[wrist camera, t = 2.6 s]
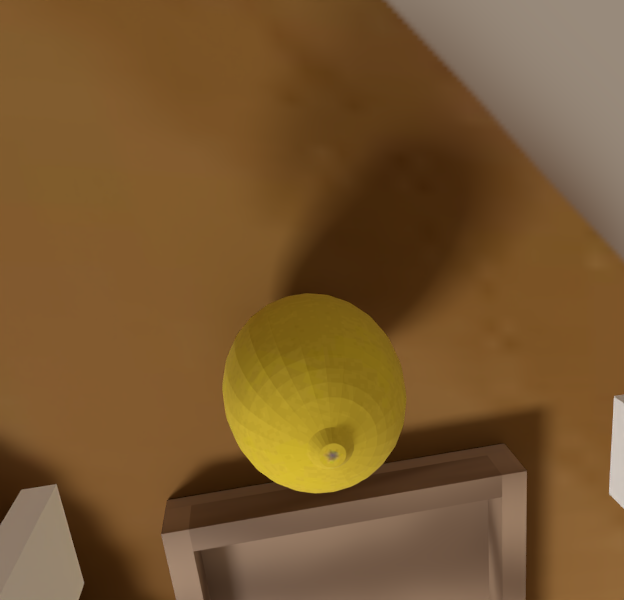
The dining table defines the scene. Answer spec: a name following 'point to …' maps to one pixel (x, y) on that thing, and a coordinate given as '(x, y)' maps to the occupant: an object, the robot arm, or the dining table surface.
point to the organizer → (360, 535)
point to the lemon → (314, 393)
